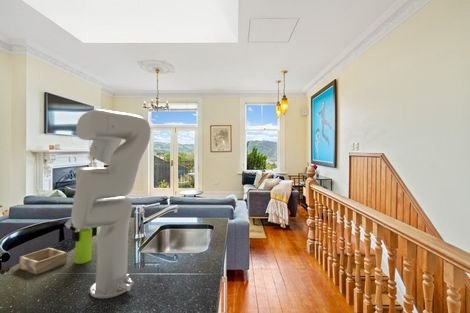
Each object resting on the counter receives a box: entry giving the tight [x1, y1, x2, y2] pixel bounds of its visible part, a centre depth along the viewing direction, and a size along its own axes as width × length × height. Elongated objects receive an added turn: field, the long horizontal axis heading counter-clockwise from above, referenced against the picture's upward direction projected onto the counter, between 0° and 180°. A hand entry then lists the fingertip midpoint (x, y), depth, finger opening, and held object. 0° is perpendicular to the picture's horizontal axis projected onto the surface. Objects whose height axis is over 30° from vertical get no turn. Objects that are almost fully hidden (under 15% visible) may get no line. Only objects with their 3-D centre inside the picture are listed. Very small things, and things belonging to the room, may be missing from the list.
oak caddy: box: [18, 247, 68, 275], centre depth 96 cm, size 12×11×4 cm
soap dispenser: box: [74, 228, 93, 265], centre depth 101 cm, size 6×7×20 cm
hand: (84, 237), depth 101 cm, fingers open, 7 cm apart
